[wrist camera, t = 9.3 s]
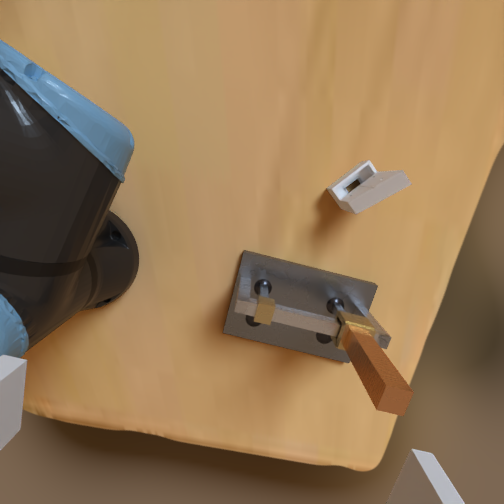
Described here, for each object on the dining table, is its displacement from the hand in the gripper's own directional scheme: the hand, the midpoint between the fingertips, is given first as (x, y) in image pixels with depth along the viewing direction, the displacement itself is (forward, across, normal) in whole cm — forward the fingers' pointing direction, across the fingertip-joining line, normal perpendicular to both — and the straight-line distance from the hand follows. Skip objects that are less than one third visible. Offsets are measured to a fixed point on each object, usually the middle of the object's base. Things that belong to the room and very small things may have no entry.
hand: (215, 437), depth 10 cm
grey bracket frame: (+34, +10, -6) cm, 35 cm away
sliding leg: (+33, +15, -6) cm, 37 cm away
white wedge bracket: (+35, +12, +11) cm, 39 cm away
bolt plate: (+35, +10, -8) cm, 37 cm away
